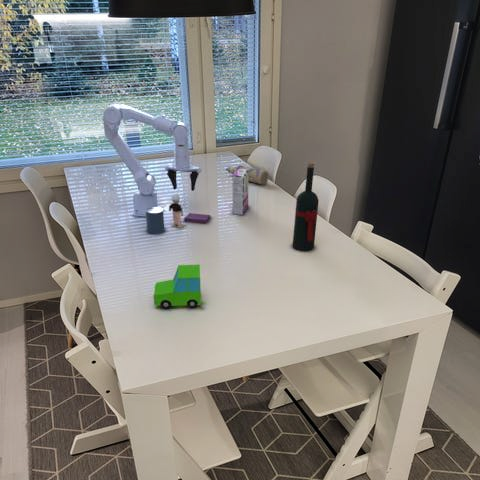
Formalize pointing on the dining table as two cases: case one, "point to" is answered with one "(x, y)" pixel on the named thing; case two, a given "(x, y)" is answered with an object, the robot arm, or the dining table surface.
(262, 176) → the decorative bottle
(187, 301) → the toy car
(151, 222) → the tin can
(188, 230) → the dining table surface
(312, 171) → the wine bottle
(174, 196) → the grandmother figurine
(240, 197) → the candy bar box
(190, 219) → the purple box
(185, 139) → the robot arm
